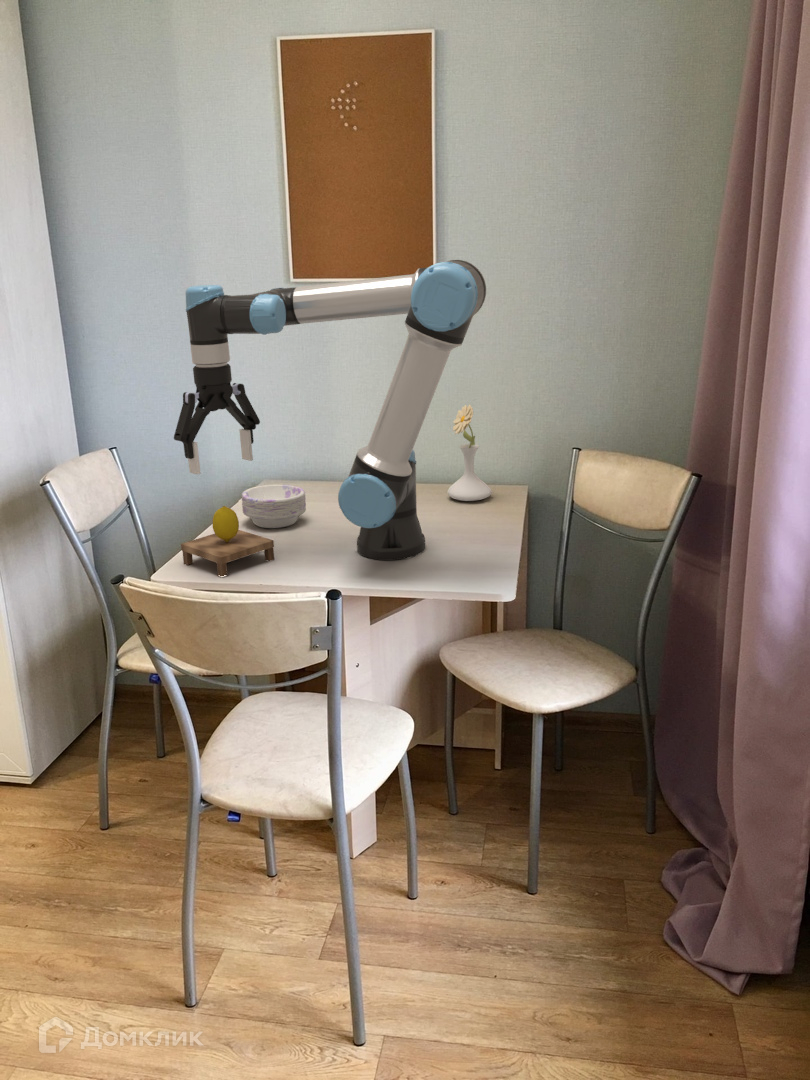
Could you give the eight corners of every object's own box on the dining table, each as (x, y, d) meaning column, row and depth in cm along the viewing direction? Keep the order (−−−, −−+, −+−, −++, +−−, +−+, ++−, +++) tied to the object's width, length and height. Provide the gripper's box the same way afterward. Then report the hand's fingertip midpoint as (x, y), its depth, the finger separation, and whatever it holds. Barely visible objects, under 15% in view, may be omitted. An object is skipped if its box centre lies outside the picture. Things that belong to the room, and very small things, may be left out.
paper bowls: (318, 517, 241) (316, 486, 239) (285, 535, 228) (283, 502, 226) (265, 511, 247) (263, 480, 245) (231, 528, 234) (228, 496, 232)
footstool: (273, 540, 211) (221, 557, 201) (275, 559, 212) (222, 578, 202) (233, 527, 220) (180, 543, 210) (234, 546, 221) (183, 563, 212)
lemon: (245, 541, 211) (242, 505, 208) (225, 547, 207) (221, 511, 204) (229, 536, 214) (226, 501, 212) (208, 542, 210) (205, 506, 208)
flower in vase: (447, 492, 259) (446, 398, 251) (490, 491, 258) (490, 397, 250) (447, 506, 246) (446, 408, 238) (492, 506, 246) (493, 407, 238)
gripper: (248, 355, 209) (257, 452, 216) (148, 371, 192) (161, 476, 199) (270, 357, 204) (279, 456, 211) (170, 374, 187) (182, 481, 194)
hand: (222, 466), depth 205 cm, fingers open, 13 cm apart
